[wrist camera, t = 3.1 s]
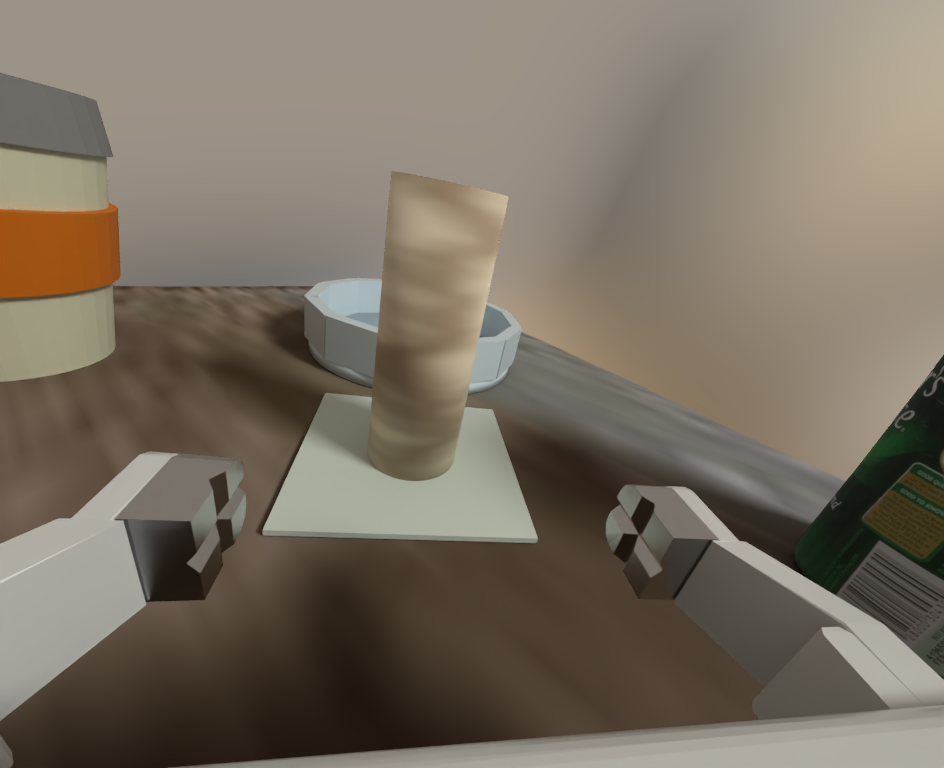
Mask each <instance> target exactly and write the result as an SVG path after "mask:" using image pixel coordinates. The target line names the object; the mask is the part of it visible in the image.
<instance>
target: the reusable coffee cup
mask: <svg viewBox="0 0 944 768" xmlns="http://www.w3.org/2000/svg"><path fill="white" fill-rule="evenodd" d="M107 157H113V154H112V151H111V147H110V144H109V141H108V138H107V135H106V131H105V128H104V125H103V121H102V118H101V115H100V112H99V109H98V105H97V102H96V101H95V100H93V99H90V98H87V97H85V96H81V95H78V94H75V93H71V92H68V91H65V90H61V89H57V88H54V87H50V86H47V85H43V84H40V83H36V82H32V81H28V80H25V79H21V78H17V77H14V76H10V75H6V74H3V73H0V382H7V381H16V380H25V379H33V378H39V377H45V376H51V375H56V374H60V373H64V372H69V371H73V370H76V369H79V368H83V367H86V366H89V365H91V364H94V363H96V362H98V361H101V360H102V359H104V358H106V357H107V356H109V355H110V354H111V353H112V352H113V351H114V349H115V327H114V305H113V284H112V283H113V282H115V281H116V280H118V279H119V277H120V253H119V228H118V208H117V207H116V206H114V205H112V204H110V203H109V201H108V180H107Z"/></svg>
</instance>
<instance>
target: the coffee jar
mask: <svg viewBox="0 0 944 768" xmlns="http://www.w3.org/2000/svg"><path fill="white" fill-rule="evenodd" d="M794 556H795V562H796V563H797V565H798V566H799V568H800V569H801V571H802V572H803V573H804V575H805V576H806V577H807V578H808V579H809V580H811V581H812V582H814V583H816V584H817V585H819V586H821V587H822V588H824V589H826V590H827V591H829V592H831V593H832V594H834V595H836V596H837V597H839V598H841V599H842V600H844V601H846V602H847V603H849V604H851V605H852V606H854V607H856V608H857V609H859V610H861V611H862V612H864V613H866V614H867V615H869V616H871V617H872V618H874V619H876V620H877V621H879V622H881V623H882V624H884V625H885V626H886V627H887V628H888V629H889V630H890V631H891V632H893V633H894V634H895V635H896V636H897V637H898V638H899V639H900V640H901V641H902V642H903V643H904V644H906V645H907V646H908V647H909V648H910V649H911V650H912V651H913V652H914V653H915V654H916V655H917V656H919V657H920V658H921V659H922V660H923V661H924V662H925V663H926V664H927V665H928V666H929V667H930V668H932V669H933V670H934V671H935V672H936V673H937V674H938V675H939V676H940V677H941V678H942V679H943V680H944V355H943V357H942V358H941V359H940V360H939V362H938V363H937V364H936V366H935V368H934V369H933V370H932V371H931V373H930V374H929V375H928V377H927V378H926V379H925V381H924V382H923V383H922V385H921V386H920V387H919V388H918V390H917V391H916V393H915V394H914V395H913V396H912V398H911V399H910V400H909V401H908V403H907V404H906V405H905V406H904V407H903V409H902V410H901V411H900V413H899V414H898V416H897V417H896V418H895V420H894V421H893V422H892V424H891V425H890V426H889V427H888V429H887V430H886V431H885V433H884V434H883V435H882V436H881V438H880V439H879V440H878V441H877V443H876V444H875V445H874V447H873V448H872V449H871V451H870V452H869V453H868V454H867V456H866V457H865V458H864V460H863V461H862V462H861V463H860V465H859V466H858V467H857V468H856V470H855V471H854V472H853V474H852V475H851V476H850V477H849V478H848V480H847V481H846V482H845V483H844V484H843V486H842V487H841V488H840V489H839V491H838V492H837V493H836V494H835V496H834V497H833V498H832V499H831V501H830V502H829V503H828V504H827V506H826V507H825V508H824V509H823V511H822V512H821V513H820V514H819V515H818V517H817V518H816V519H815V520H814V522H813V523H812V524H811V525H810V527H809V528H808V529H807V531H806V532H805V533H804V534H803V536H802V537H801V538H800V539H799V541H798V542H797V544H796V545H795V549H794Z"/></svg>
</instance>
